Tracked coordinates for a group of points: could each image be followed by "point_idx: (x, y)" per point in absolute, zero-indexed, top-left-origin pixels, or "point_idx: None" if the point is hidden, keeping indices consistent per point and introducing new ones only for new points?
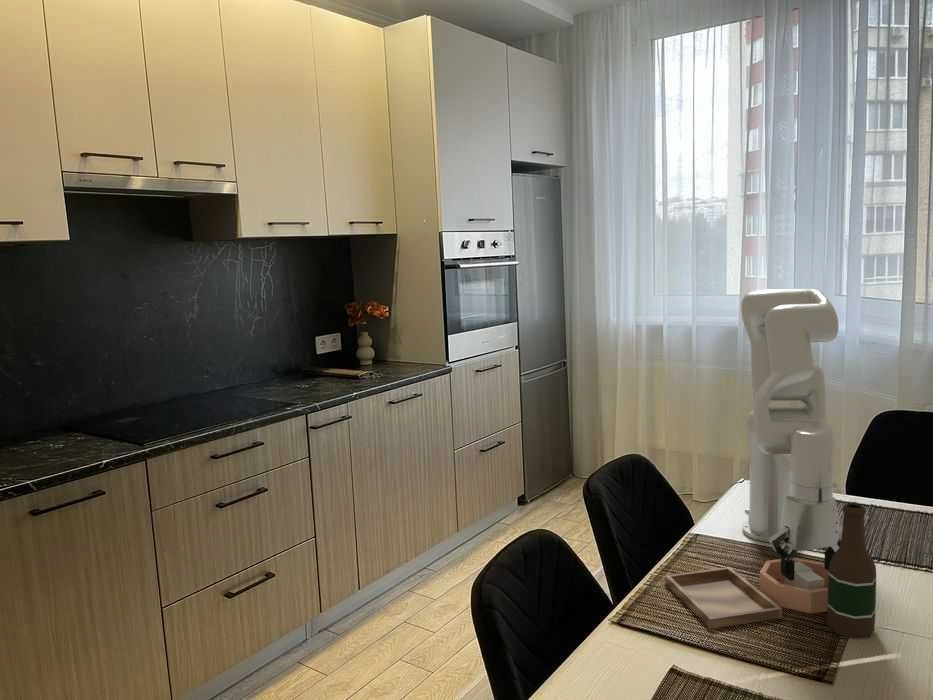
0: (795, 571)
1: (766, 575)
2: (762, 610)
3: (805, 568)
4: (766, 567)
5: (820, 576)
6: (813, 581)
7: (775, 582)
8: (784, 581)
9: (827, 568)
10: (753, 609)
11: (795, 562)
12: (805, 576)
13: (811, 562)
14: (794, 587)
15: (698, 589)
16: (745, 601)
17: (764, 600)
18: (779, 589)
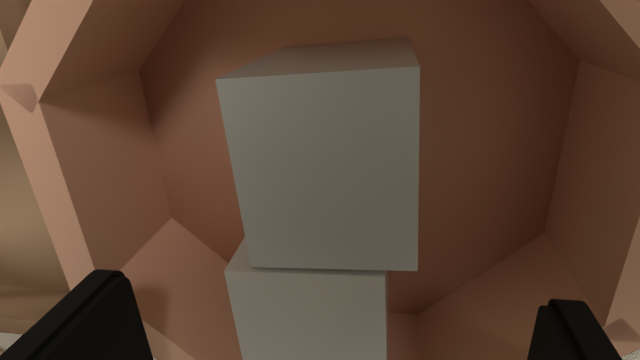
0: (248, 239)
1: (35, 155)
2: (19, 326)
3: (366, 231)
4: (72, 3)
5: (606, 67)
6: None
7: (72, 264)
8: (274, 52)
9: (539, 349)
10: (33, 222)
11: (352, 82)
12: (272, 341)
13: (626, 6)
14: (167, 350)
15: None
16: (9, 146)
17: None
18: None
